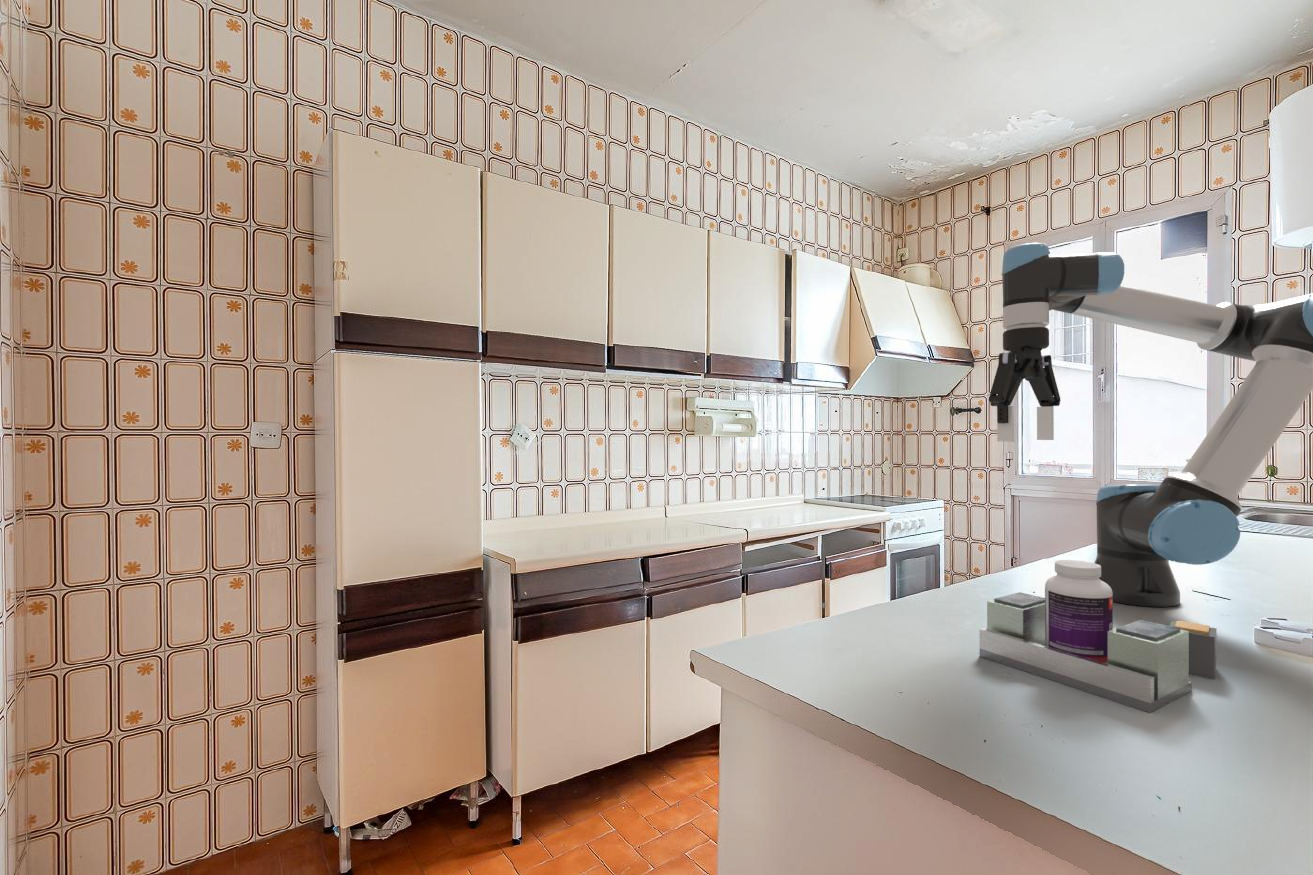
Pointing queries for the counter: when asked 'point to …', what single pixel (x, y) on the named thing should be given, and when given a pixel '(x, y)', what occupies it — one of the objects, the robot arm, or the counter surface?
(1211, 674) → the block
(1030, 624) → the rail plate
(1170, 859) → the counter surface
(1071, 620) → the pill bottle
